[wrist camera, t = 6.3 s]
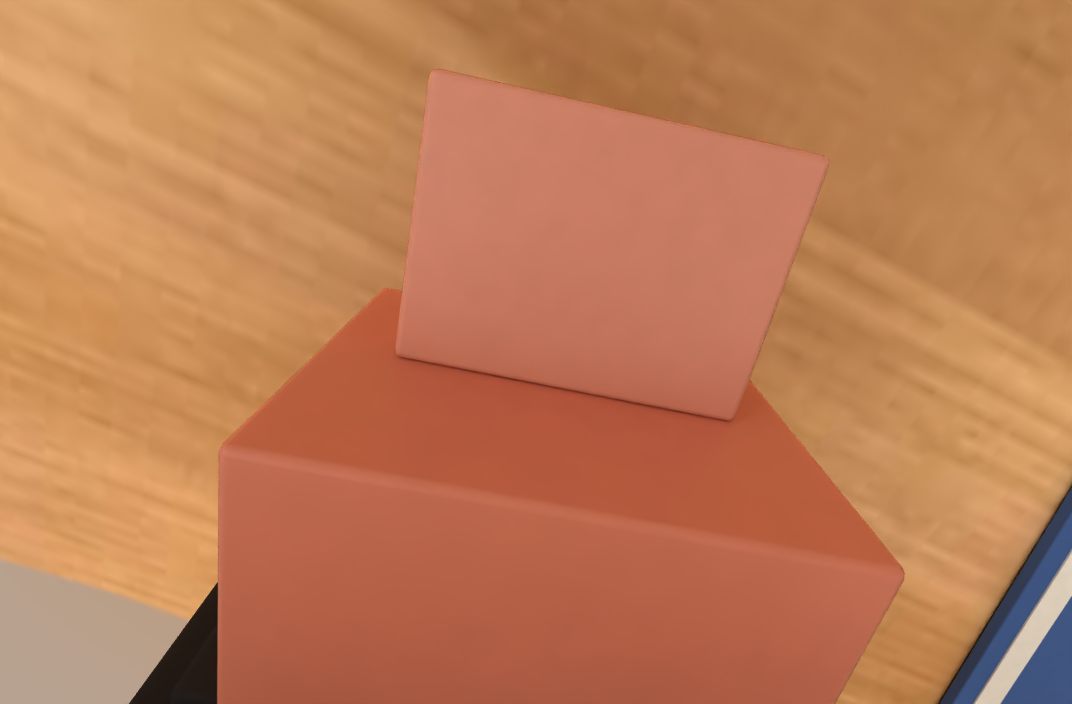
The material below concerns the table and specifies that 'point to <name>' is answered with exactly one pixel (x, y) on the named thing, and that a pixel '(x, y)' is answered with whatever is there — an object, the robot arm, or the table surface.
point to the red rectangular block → (552, 441)
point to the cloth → (1027, 631)
